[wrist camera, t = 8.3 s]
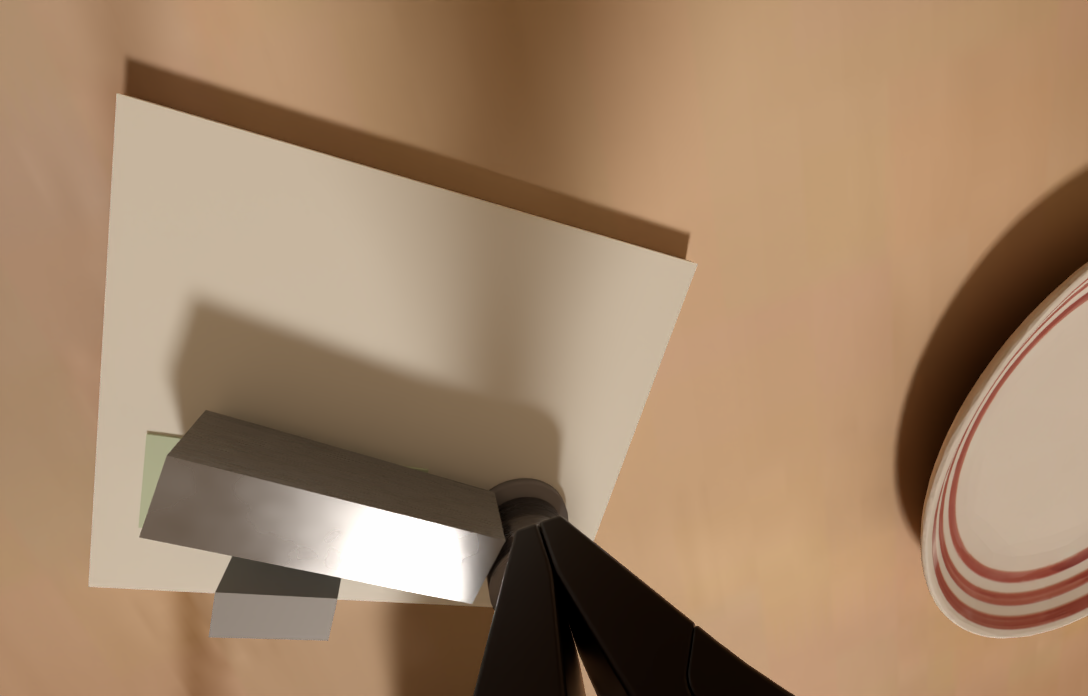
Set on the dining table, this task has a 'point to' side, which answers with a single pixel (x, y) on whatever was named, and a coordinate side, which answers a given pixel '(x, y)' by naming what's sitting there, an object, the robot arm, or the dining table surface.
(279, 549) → the bar
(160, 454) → the door board
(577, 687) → the robot arm
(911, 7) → the dining table surface
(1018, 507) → the dinner plate
